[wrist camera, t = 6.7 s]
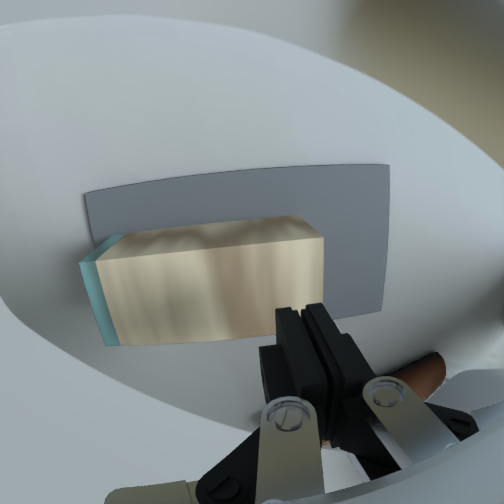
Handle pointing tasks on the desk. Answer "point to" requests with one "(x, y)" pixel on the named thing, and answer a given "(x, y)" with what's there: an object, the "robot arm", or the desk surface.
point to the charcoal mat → (273, 205)
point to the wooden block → (203, 280)
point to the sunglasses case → (422, 376)
